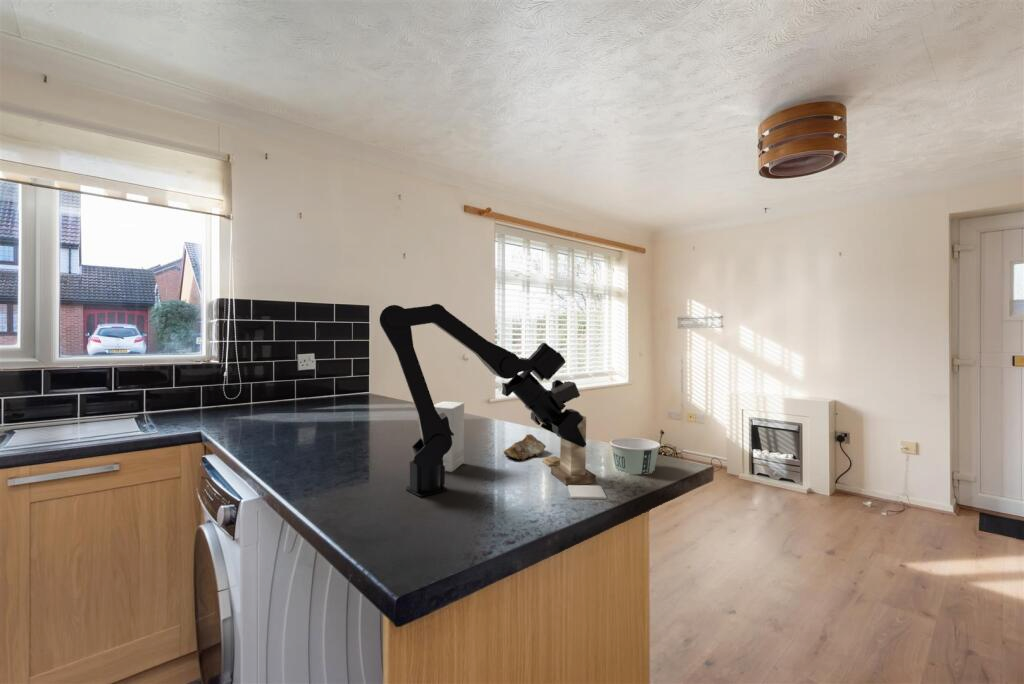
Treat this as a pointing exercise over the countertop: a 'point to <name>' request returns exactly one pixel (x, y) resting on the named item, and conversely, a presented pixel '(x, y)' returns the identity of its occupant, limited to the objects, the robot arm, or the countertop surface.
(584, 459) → the tan wooden block
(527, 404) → the robot arm
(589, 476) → the walnut rack
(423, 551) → the countertop surface
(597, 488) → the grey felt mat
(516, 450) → the decorative stone
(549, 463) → the oak offcuts
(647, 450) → the food container
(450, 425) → the skincare box
